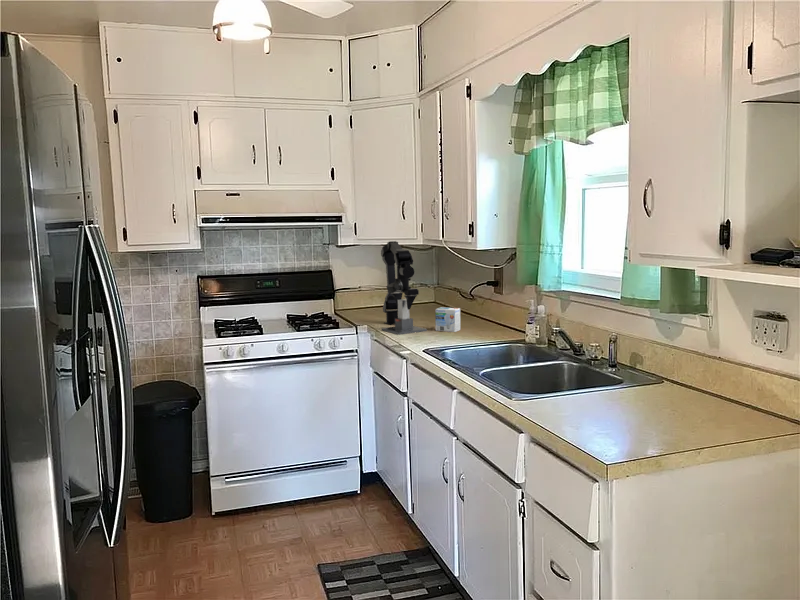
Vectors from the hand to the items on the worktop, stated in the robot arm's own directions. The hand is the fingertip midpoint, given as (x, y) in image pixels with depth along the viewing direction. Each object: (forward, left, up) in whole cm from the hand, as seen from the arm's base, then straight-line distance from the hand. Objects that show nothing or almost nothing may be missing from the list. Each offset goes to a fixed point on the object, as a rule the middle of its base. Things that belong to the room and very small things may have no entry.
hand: (403, 308), depth 327 cm
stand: (0, 0, -11) cm, 11 cm away
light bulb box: (+13, +17, -11) cm, 24 cm away
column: (0, 0, -6) cm, 6 cm away
